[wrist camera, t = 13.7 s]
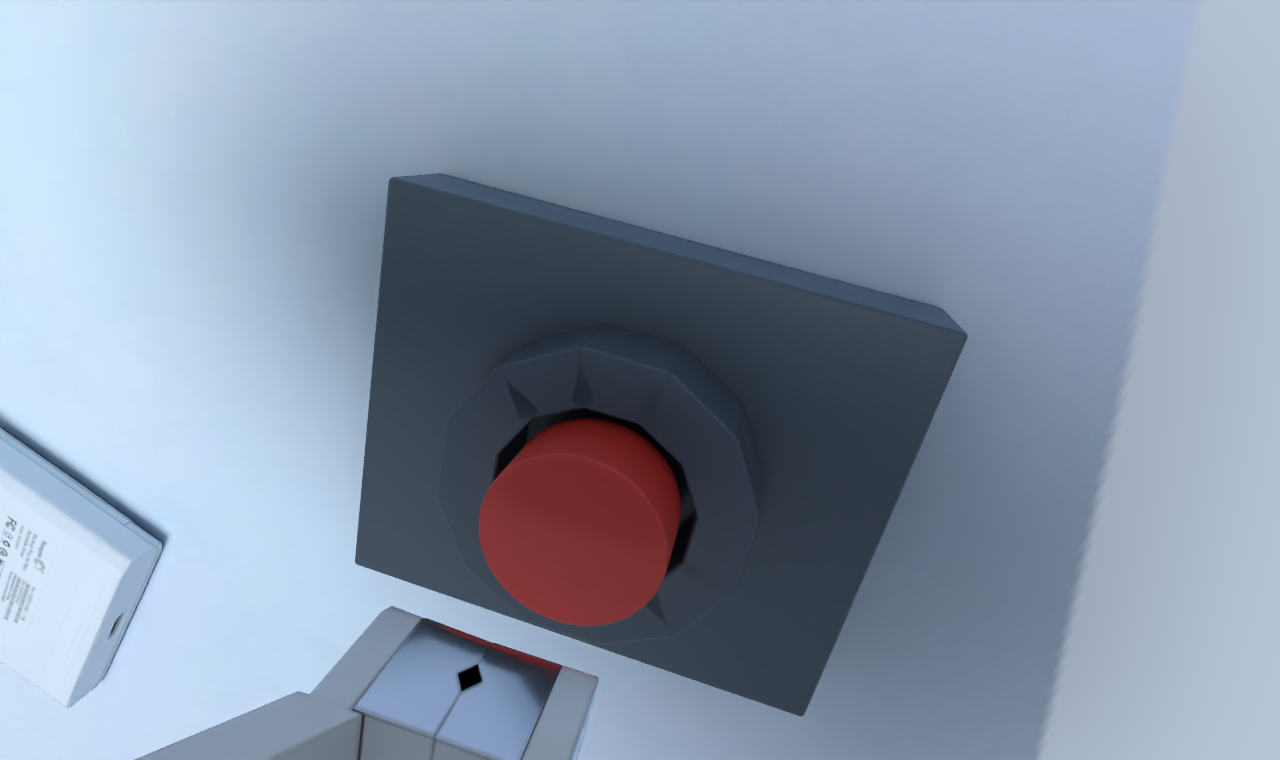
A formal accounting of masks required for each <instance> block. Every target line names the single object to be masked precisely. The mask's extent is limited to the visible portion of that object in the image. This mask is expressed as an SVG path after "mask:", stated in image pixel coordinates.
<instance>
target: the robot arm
mask: <svg viewBox="0 0 1280 760" xmlns="http://www.w3.org/2000/svg"><path fill="white" fill-rule="evenodd" d="M598 683H599V678H598V677H596V676H593V675H590V674H587V673H584V672H581V671H578V670H575V669H572V668H569V667H566V666H563V665H559V664H556V663H553V662H550V661H547V660H544V659H541V658H538V657H535V656H532V655H529V654H526V653H523V652H520V651H517V650H514V649H511V648H508V647H505V646H502V645H499V644H496V643H491V642H489V641H486V640H483V639H481V638H478V637H475V636H473V635H470V634H467V633H465V632H462V631H459V630H457V629H454V628H451V627H449V626H446V625H443V624H441V623H438V622H435V621H433V620H430V619H427V618H422V617H420V616H417V615H414V614H412V613H409V612H406V611H404V610H401V609H398V608H396V607H393V606H391V607H389V608H388V609H386V610H384V611H382V612H381V613H380V614H379V615H378V616H377V617H376V619H375V620H374V621H373V622H372V623H371V624H370V625H369V627H368V628H367V629H366V630H365V631H364V632H363V634H362V635H361V636H360V637H359V638H358V639H357V640H356V642H355V643H354V644H353V645H352V646H351V647H350V648H349V650H348V651H347V652H346V653H345V654H344V655H343V657H342V658H341V659H340V660H339V661H338V662H337V663H336V665H335V666H334V667H333V668H332V669H331V670H330V672H329V673H328V674H327V675H326V676H325V677H324V678H323V680H322V681H321V682H320V683H319V684H318V685H317V687H316V688H315V689H314V690H313V691H312V692H311V693H310V695H309V694H306V693H303V692H300V691H297V692H295V693H293V694H290V695H288V696H286V697H283V698H281V699H278V700H276V701H274V702H271V703H269V704H266V705H264V706H262V707H259V708H257V709H254V710H252V711H250V712H247V713H245V714H243V715H240V716H238V717H235V718H233V719H231V720H228V721H226V722H223V723H221V724H219V725H216V726H214V727H211V728H209V729H207V730H204V731H202V732H200V733H197V734H195V735H192V736H190V737H188V738H185V739H183V740H180V741H178V742H176V743H173V744H171V745H168V746H166V747H164V748H161V749H159V750H157V751H154V752H152V753H149V754H147V755H145V756H142V757H140V758H137V759H135V760H577V758H578V755H579V752H580V748H581V745H582V741H583V738H584V734H585V730H586V727H587V723H588V720H589V716H590V712H591V709H592V705H593V702H594V698H595V694H596V691H597V687H598Z"/></svg>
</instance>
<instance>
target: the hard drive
mask: <svg viewBox="0 0 1280 760" xmlns="http://www.w3.org/2000/svg"><path fill="white" fill-rule="evenodd" d="M161 551H162V544H161V542H160V541H158V540H157V539H155V538H154V537H153V536H151V535H150V534H148V533H147V532H145V531H144V530H143V529H141V528H140V527H138V526H137V525H136V524H134V523H133V522H132V520H130V519H129V518H128V517H126V516H125V515H123V514H122V513H120V512H119V511H117V510H116V509H115V508H113V507H112V506H110V505H109V504H108V503H106V502H105V501H104V500H102V499H101V498H99V497H98V496H97V495H95V494H94V493H92V492H91V491H90V490H88V489H87V488H85V487H84V486H83V485H81V484H80V483H78V482H77V481H76V480H74V479H73V478H71V477H70V476H68V475H67V474H66V473H64V472H63V471H61V470H60V469H58V468H57V467H55V466H54V465H53V464H51V463H50V462H48V461H47V460H45V459H44V458H43V457H41V456H40V455H39V454H37V453H36V452H34V451H33V450H31V449H30V448H28V447H27V446H26V445H24V444H23V443H21V442H20V441H19V440H17V439H16V438H14V437H13V436H11V435H10V434H9V433H7V432H6V431H4V430H3V429H2V428H0V663H1V664H3V665H4V666H6V667H7V668H9V669H10V670H12V671H13V672H15V673H16V674H18V675H19V676H20V677H22V678H23V679H25V680H26V681H28V682H29V683H31V684H32V685H34V686H35V687H37V688H38V689H39V690H41V691H42V692H43V693H44V694H46V695H47V696H49V697H50V698H52V699H53V700H55V701H56V702H58V703H59V704H61V705H62V706H64V707H65V708H70V707H71V706H73V705H74V704H75V703H76V702H77V701H79V700H80V699H81V698H83V697H84V696H85V695H86V694H87V693H89V692H90V691H91V690H93V689H94V688H95V687H97V685H98V684H99V683H100V681H101V680H102V678H103V677H104V675H105V673H106V672H107V670H108V668H109V666H110V663H111V661H112V659H113V657H114V655H115V652H116V650H117V648H118V646H119V644H120V642H121V639H122V637H123V635H124V633H125V630H126V628H127V626H128V624H129V622H130V619H131V617H132V615H133V613H134V611H135V609H136V606H137V604H138V602H139V600H140V598H141V596H142V593H143V591H144V589H145V587H146V585H147V582H148V580H149V578H150V575H151V573H152V571H153V569H154V567H155V564H156V562H157V560H158V558H159V556H160V553H161Z"/></svg>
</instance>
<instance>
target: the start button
mask: <svg viewBox="0 0 1280 760" xmlns="http://www.w3.org/2000/svg"><path fill="white" fill-rule="evenodd" d="M681 510H682V504H681V494H680V490H679V486H678V483H677V480H676V478H675V475H674V473H673V471H672V469H671V467H670V466H669V464H668V463H667V461H666V460H665V458H664V457H663V456H662V454H661V453H660V452H659V451H658V450H657V449H656V448H655V447H654V446H653V445H652V444H651V443H650V442H649V441H647V440H646V439H645V438H644V437H642V436H641V435H639V434H638V433H636V432H635V431H633V430H631V429H629V428H627V427H625V426H622V425H619V424H617V423H614V422H610V421H606V420H602V419H593V418H577V419H570V420H565V421H562V422H558V423H555V424H553V425H551V426H549V427H546V428H545V429H543V430H542V431H540V432H538V433H537V434H536V435H535V436H534V437H533V438H531V439H530V440H529V442H528V443H527V444H526V445H525V446H524V447H523V448H522V450H521V451H520V452H519V453H518V454H517V455H516V456H515V458H514V459H513V460H512V461H511V462H510V463H509V464H508V466H507V467H506V468H505V469H504V470H503V471H502V472H501V474H500V475H499V476H498V477H497V478H496V479H495V480H494V482H493V483H492V484H491V486H490V487H489V489H488V491H487V492H486V495H485V497H484V499H483V502H482V506H481V510H480V515H479V537H480V543H481V548H482V551H483V554H484V557H485V559H486V561H487V563H488V565H489V568H490V569H491V571H492V572H493V574H494V576H495V577H496V579H497V580H498V581H499V582H500V584H501V585H502V586H503V587H504V588H505V589H506V590H507V591H508V592H509V594H510V595H511V596H513V597H514V598H515V599H516V600H518V601H519V602H520V603H521V604H523V605H524V606H526V607H527V608H529V609H530V610H532V611H534V612H536V613H538V614H540V615H542V616H544V617H546V618H549V619H551V620H554V621H558V622H561V623H565V624H571V625H578V626H598V625H604V624H610V623H613V622H617V621H620V620H622V619H625V618H627V617H629V616H631V615H633V614H634V613H636V612H637V611H639V610H640V609H641V608H643V607H644V606H645V605H646V604H647V603H648V602H649V601H650V600H651V599H652V598H653V597H654V595H655V594H656V593H657V591H658V589H659V588H660V586H661V584H662V582H663V579H664V577H665V574H666V571H667V567H668V564H669V560H670V557H671V553H672V550H673V546H674V543H675V539H676V535H677V532H678V528H679V524H680V520H681Z"/></svg>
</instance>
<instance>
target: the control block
mask: <svg viewBox="0 0 1280 760" xmlns="http://www.w3.org/2000/svg"><path fill="white" fill-rule="evenodd" d="M966 340H967V334H966V333H965V332H964V331H963V329H962V328H961V327H960V326H959V325H958V324H957V323H956V322H955V321H954V320H953V319H952V318H951V317H950V316H949V315H948V314H947V313H946V312H945V311H944V310H943V309H941V308H938V307H934V306H930V305H927V304H923V303H919V302H915V301H912V300H908V299H904V298H901V297H897V296H893V295H889V294H886V293H882V292H878V291H875V290H871V289H867V288H863V287H860V286H856V285H852V284H849V283H845V282H841V281H837V280H834V279H830V278H826V277H822V276H819V275H815V274H811V273H808V272H804V271H800V270H796V269H793V268H789V267H785V266H782V265H778V264H774V263H770V262H767V261H763V260H759V259H755V258H752V257H748V256H744V255H741V254H737V253H733V252H729V251H726V250H722V249H718V248H715V247H711V246H707V245H703V244H700V243H696V242H692V241H688V240H685V239H681V238H677V237H674V236H670V235H666V234H662V233H659V232H655V231H651V230H648V229H644V228H640V227H636V226H633V225H629V224H625V223H622V222H618V221H614V220H610V219H607V218H603V217H599V216H595V215H592V214H588V213H584V212H581V211H577V210H573V209H569V208H566V207H562V206H558V205H555V204H551V203H547V202H543V201H540V200H536V199H532V198H528V197H525V196H521V195H517V194H514V193H510V192H506V191H502V190H499V189H495V188H491V187H488V186H484V185H480V184H476V183H473V182H469V181H465V180H461V179H458V178H454V177H450V176H447V175H443V174H430V175H417V176H403V177H392V178H390V180H389V187H388V198H387V210H386V221H385V232H384V243H383V254H382V266H381V277H380V288H379V299H378V310H377V322H376V333H375V344H374V355H373V366H372V378H371V389H370V400H369V411H368V422H367V434H366V445H365V456H364V467H363V478H362V490H361V501H360V512H359V523H358V534H357V546H356V557H355V563H356V564H357V565H360V566H363V567H366V568H369V569H372V570H375V571H378V572H381V573H384V574H387V575H389V576H392V577H395V578H398V579H401V580H404V581H407V582H410V583H413V584H416V585H419V586H422V587H424V588H427V589H430V590H433V591H436V592H439V593H442V594H445V595H448V596H451V597H454V598H457V599H460V600H462V601H465V602H468V603H471V604H474V605H477V606H480V607H483V608H486V609H489V610H492V611H495V612H497V613H500V614H503V615H506V616H509V617H512V618H515V619H518V620H521V621H524V622H527V623H530V624H532V625H535V626H538V627H541V628H544V629H547V630H550V631H553V632H556V633H559V634H562V635H565V636H567V637H570V638H573V639H576V640H579V641H582V642H585V643H588V644H591V645H594V646H597V647H600V648H602V649H605V650H608V651H611V652H614V653H617V654H620V655H623V656H626V657H629V658H632V659H635V660H637V661H640V662H643V663H646V664H649V665H652V666H655V667H658V668H661V669H664V670H667V671H670V672H673V673H675V674H678V675H681V676H684V677H687V678H690V679H693V680H696V681H699V682H702V683H705V684H708V685H710V686H713V687H716V688H719V689H722V690H725V691H728V692H731V693H734V694H737V695H740V696H743V697H745V698H748V699H751V700H754V701H757V702H760V703H763V704H766V705H769V706H772V707H775V708H778V709H780V710H783V711H786V712H789V713H792V714H795V715H798V716H803V715H804V714H805V712H806V710H807V707H808V705H809V703H810V700H811V698H812V696H813V693H814V691H815V689H816V686H817V684H818V682H819V680H820V677H821V675H822V673H823V670H824V668H825V666H826V663H827V661H828V659H829V656H830V654H831V652H832V649H833V647H834V645H835V643H836V640H837V638H838V636H839V633H840V631H841V629H842V626H843V624H844V622H845V619H846V617H847V615H848V612H849V610H850V608H851V606H852V603H853V601H854V599H855V596H856V594H857V592H858V589H859V587H860V585H861V582H862V580H863V578H864V575H865V573H866V571H867V569H868V566H869V564H870V562H871V559H872V557H873V555H874V552H875V550H876V548H877V545H878V543H879V541H880V538H881V536H882V534H883V532H884V529H885V527H886V525H887V522H888V520H889V518H890V515H891V513H892V511H893V508H894V506H895V504H896V501H897V499H898V497H899V495H900V492H901V490H902V488H903V485H904V483H905V481H906V478H907V476H908V474H909V471H910V469H911V467H912V464H913V462H914V460H915V458H916V455H917V453H918V451H919V448H920V446H921V444H922V441H923V439H924V437H925V434H926V432H927V430H928V428H929V425H930V423H931V421H932V418H933V416H934V414H935V411H936V409H937V407H938V404H939V402H940V400H941V397H942V395H943V393H944V391H945V388H946V386H947V384H948V381H949V379H950V377H951V374H952V372H953V370H954V367H955V365H956V363H957V360H958V358H959V356H960V354H961V351H962V349H963V347H964V344H965V342H966ZM577 418H593V419H602V420H606V421H610V422H614V423H617V424H619V425H622V426H625V427H627V428H629V429H631V430H633V431H635V432H636V433H638V434H639V435H641V436H642V437H644V438H645V439H646V440H647V441H649V442H650V443H651V444H652V445H653V446H654V447H655V448H656V449H657V450H658V451H659V452H660V453H661V454H662V456H663V457H664V458H665V460H666V461H667V463H668V464H669V466H670V467H671V469H672V471H673V473H674V475H675V478H676V480H677V483H678V486H679V490H680V494H681V504H682V510H681V520H680V524H679V528H678V532H677V535H676V539H675V543H674V546H673V550H672V553H671V557H670V560H669V564H668V567H667V571H666V574H665V577H664V579H663V582H662V584H661V586H660V588H659V589H658V591H657V593H656V594H655V595H654V597H653V598H652V599H651V600H650V601H649V602H648V603H647V604H646V605H645V606H644V607H643V608H641V609H640V610H639V611H637V612H636V613H634V614H633V615H631V616H629V617H627V618H625V619H622V620H620V621H617V622H613V623H610V624H604V625H598V626H578V625H571V624H565V623H561V622H558V621H554V620H551V619H549V618H546V617H544V616H542V615H540V614H538V613H536V612H534V611H532V610H530V609H529V608H527V607H526V606H524V605H523V604H521V603H520V602H519V601H518V600H516V599H515V598H514V597H513V596H511V595H510V594H509V592H508V591H507V590H506V589H505V588H504V587H503V586H502V585H501V584H500V582H499V581H498V580H497V579H496V577H495V576H494V574H493V572H492V571H491V569H490V568H489V565H488V563H487V561H486V559H485V557H484V554H483V551H482V548H481V543H480V537H479V515H480V510H481V506H482V502H483V499H484V497H485V495H486V492H487V491H488V489H489V487H490V486H491V484H492V483H493V482H494V480H495V479H496V478H497V477H498V476H499V475H500V474H501V472H502V471H503V470H504V469H505V468H506V467H507V466H508V464H509V463H510V462H511V461H512V460H513V459H514V458H515V456H516V455H517V454H518V453H519V452H520V451H521V450H522V448H523V447H524V446H525V445H526V444H527V443H528V442H529V440H530V439H531V438H533V437H534V436H535V435H536V434H537V433H538V432H540V431H542V430H543V429H545V428H546V427H549V426H551V425H553V424H555V423H558V422H562V421H565V420H570V419H577Z"/></svg>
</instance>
